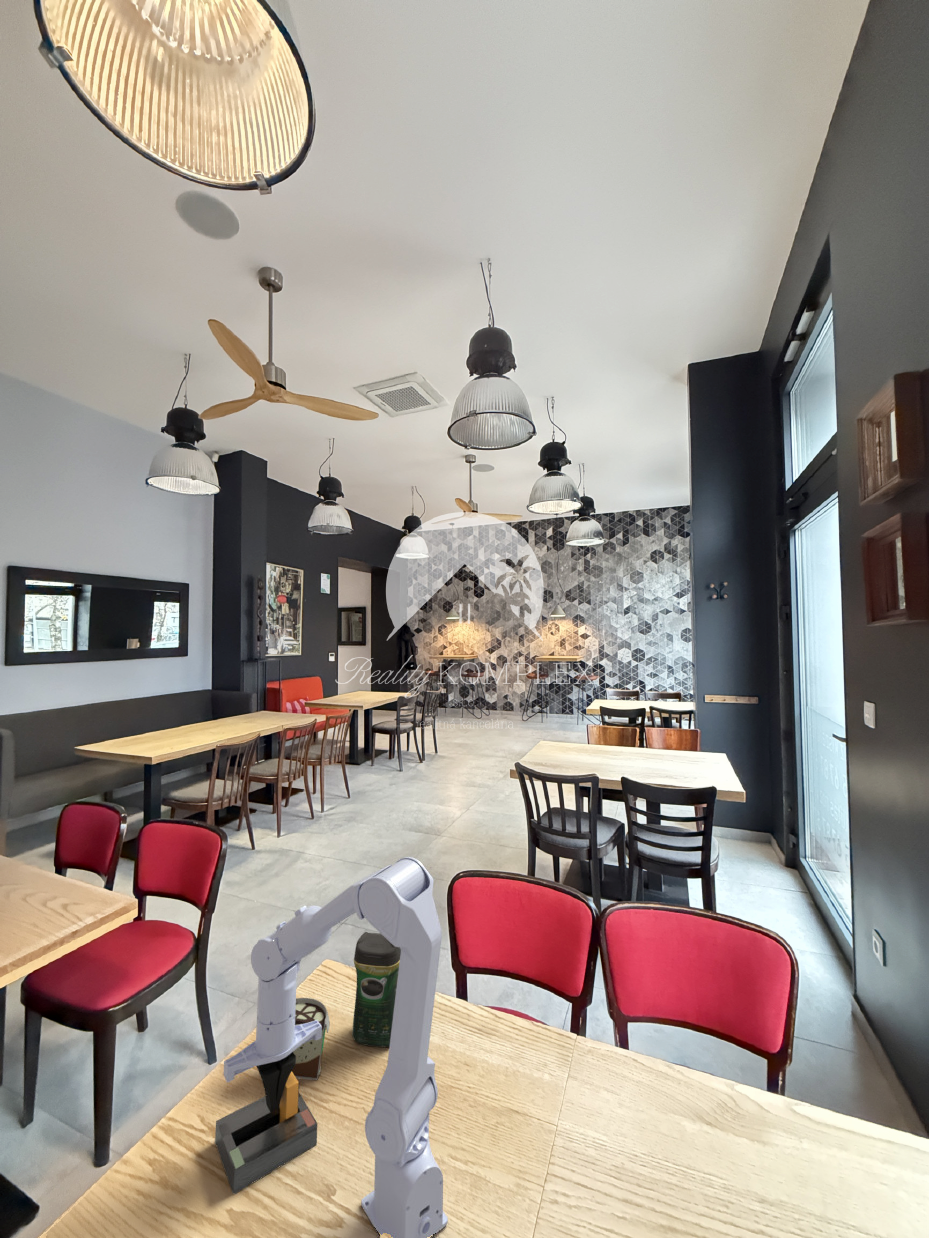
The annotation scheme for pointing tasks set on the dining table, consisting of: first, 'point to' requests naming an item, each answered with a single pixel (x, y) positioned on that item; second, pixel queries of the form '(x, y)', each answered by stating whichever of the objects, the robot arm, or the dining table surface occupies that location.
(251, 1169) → the switch box
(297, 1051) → the food container
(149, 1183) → the dining table surface
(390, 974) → the coffee jar
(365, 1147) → the dining table surface
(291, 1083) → the lever
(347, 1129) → the dining table surface
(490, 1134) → the dining table surface
